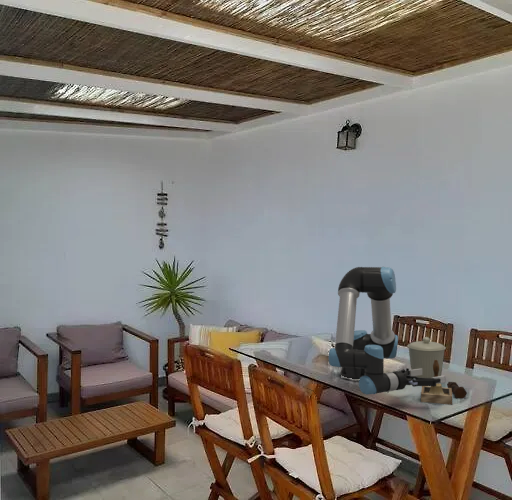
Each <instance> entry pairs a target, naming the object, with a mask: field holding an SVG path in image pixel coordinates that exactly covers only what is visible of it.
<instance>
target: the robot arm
mask: <svg viewBox="0 0 512 500" xmlns="http://www.w3.org/2000/svg"><path fill="white" fill-rule="evenodd" d="M396 292H397V282H396V274H395V271H394V269H393V268H392V267H390V266H389V267H386V266H377V267H376V266H364V267H363V266H357V267H354V268H352V269H350V270H348V271H347V273H345V275H344V276H343V277H342V278H341V280H340V282H339V285H338V289H337V295H338V296H339V303H338V311H337V322H336V330H335V331H336V333H335V344H334V347H333V348H332V347H331V348H329V351H328V363H329V366H331V367H336V368H341V369H340V371H339V375H340V374H341V375H342V376H344V377H347V378H352V379H360V380H359V381H358V388H359V390H360V392H361V393H362V394H364V395H367V396H368V395H377V394H382V393H387V394H388V393H389V392H394V391H400V390H404V389H405V388H406V387H407V386H412V387H413V388H415V387H422V386H433V387H434V386H436V384H438V383H440V384H443V383H446V375H441V376H438V377H432V378H418V377H417V376H418V375H422V369H414V370H411V369H410V368H407V367H406V369H405V368H403V369H400V370H397V371H391V372H390V371H389V372H385V371H384V360H385V359H387V360H388V359H390V360H391V359H392V360H393V359H396V357H397V354H398V353H397V352H398V346H399V345H398V344H399V343H398V342H399V336H398V335H397V334H395V332H394V331H393V329H392V319H391V315H392V314H391V298H392V296H393V294H396ZM361 293H362V294H363V293H366V295H367V297H368V298H369V299H370V304H371V316H372V317H371V318H372V320H371V321H372V330H371V332H370V333H368V331H367V330H365V329H364V330H363V329H360V330H355V328H356V326H355V325H356V313H357V300H358V298H359V297H360V294H361ZM414 378H415V379H414Z"/></svg>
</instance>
